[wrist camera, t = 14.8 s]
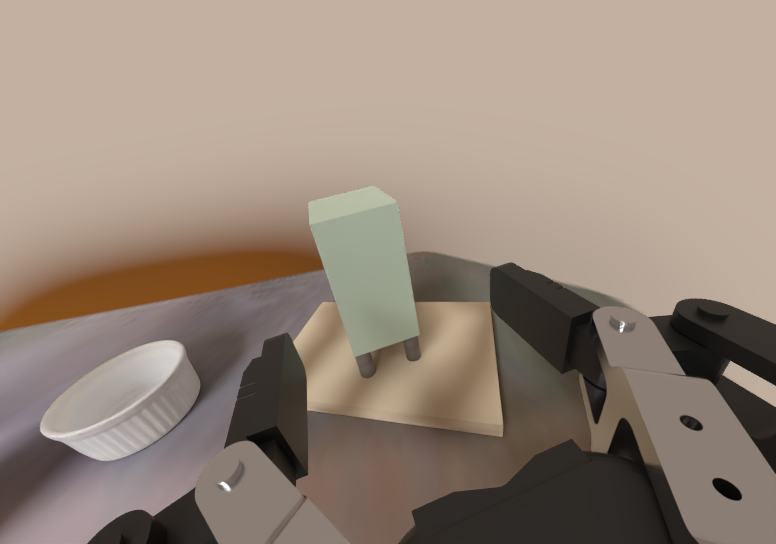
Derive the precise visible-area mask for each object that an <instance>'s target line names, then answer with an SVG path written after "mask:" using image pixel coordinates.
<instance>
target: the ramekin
mask: <svg viewBox="0 0 776 544" xmlns="http://www.w3.org/2000/svg"><path fill="white" fill-rule="evenodd" d="M199 391H200V380H199V377H198V375H197V374H196V372H195V370H194V369H193V367H192V365H191V363H190V361H189V360H188V358H187V353H186V350H185V348H184V346H183V345H182V344H181V343H180V342H178V341H173V340H162V341H156V342H152V343H148V344H145V345H142V346H139V347H136V348H134V349H131V350H129V351H127V352H125V353H123V354H120V355H118V356H116V357H114V358H113V359H111V360H109V361H107V362H105V363H103V364H102V365H100V366H98V367H97V368H95V369H94V370H92V371H91V372H89V373H87V374H86V375H85V376H83V377H82V378H81V379H79V380H78V381H77V382H75V383H74V384H73V385H71V386H70V387H69V388H68V389H67V390H66V391H65V392H64V393H62V394H61V395H60V396H59V397H58V398H57V399H56V400H55V401H54V402H53V403H52V405H51V406H50V407H49V408H48V410H47V411H46V413H45V414H44V416H43V418H42V420H41V424H40V431H41V433H42V434H43V435H44V436H45V437H48V438H50V439H52V440H56V441H61V442H63V443H65V444H67V445H68V446H70V447H72V448H73V449H75V450H77V451H78V452H80V453H82V454H84V455H86V456H88V457H91V458H93V459H96V460H100V461H113V460H117V459H121V458H124V457H126V456H129V455H132V454H134V453H136V452H138V451H140V450H142V449H144V448H146V447H148V446H149V445H151V444H153V443H154V442H156V441H157V440H159V439H160V438H161V437H163V436H164V435H165V434H167V433H168V432H169V431H170V430H171V429H172V428H174V427H175V426H176V425H177V424H178V423H179V422H180V421H181V420H182V419H183V417H184V416H185V415H186V414H187V413H188V412H189V410H190V409H191V407H192V406H193V404H194V403H195V401H196V399H197V397H198V394H199Z"/></svg>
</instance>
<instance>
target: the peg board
mask: <svg viewBox="0 0 776 544" xmlns="http://www.w3.org/2000/svg"><path fill="white" fill-rule="evenodd" d="M414 303H415V309H416V315H417V321H418V327H419V333H420V335H418V336H415V337H412V338H409V339H406V340H404V341H401V342H398V343H395V344H392V345H389V346H386V347H383V348H380V349H377V350H374V351H371V352H369V353H366V354H363V355H360V356H357V357H354V354H353V351H352V348H351V346H350V343H349V340H348V337H347V334H346V331H345V328H344V325H343V322H342V319H341V316H340V313H339V310H338V307H337V304H336V302H322V303H321V305H320V306H319V307H318V309H317V310H316V312H315V313H314V314H313V316H312V317H311V318H310V320H309V321H308V322H307V324H306V325H305V327H304V328H303V329H302V331H301V332H300V333H299V335H298V336H297V337H296V339H295V340H294V342H293V343H294V345H295V348H296V350H297V352H298V354H299V356H300V358H301V360H302V362H303V365H304V368H305V372H306V377H307V410H309V411H317V412H324V413H331V414H338V415H346V416H353V417H360V418H368V419H375V420H382V421H389V422H397V423H404V424H411V425H419V426H426V427H433V428H440V429H448V430H455V431H462V432H469V433H477V434H484V435H491V436H499V437H503V419H502V410H501V401H500V392H499V382H498V373H497V364H496V355H495V346H494V336H493V327H492V318H491V309H490V302H414Z"/></svg>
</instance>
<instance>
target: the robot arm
mask: <svg viewBox="0 0 776 544" xmlns="http://www.w3.org/2000/svg"><path fill="white" fill-rule="evenodd" d="M490 302H491V306H492V308H493V310H494V312H495V313H496V314H497V315H498V316H499V317H500V318H501V319H502V320H503V321H504V322H505V323H506V324H508V325H509V326H510V327H511V328H512V329H513V330H514V331H515V332H516V333H517V334H519V335H520V336H521V337H522V338H523V339H524V340H525V341H526V342H527V343H528V344H529V345H531V346H532V347H533V348H534V349H535V350H536V351H537V352H538V353H539V354H540V355H542V356H543V357H544V358H545V359H546V360H547V361H548V362H549V363H550V364H551V365H553V366H554V367H555V368H556V369H557V370H558V371H559V372H560V373H561V374H563V373H565V372H568V371H570V370H573V369H576V370H578V371H579V372H580V375H579V383H580V387H581V392H582V396H583V400H584V405H585V409H586V413H587V418H588V422H589V426H590V431H591V452H587V451H582V450H581V449H580V448H579V447H578V446H577V445H576V443H575V442H574V441H573V440H572V439H571V440H568V441H566V442H564V443H562V444H560V445H557V446H555V447H553V448H551V449H548V450H546V451H544V452H542V453H540V454H537V455H535V456H534V457H533V458H532V459H531V460H530V461H529V462H528V463H527V464H526V465H525V466H524V467H523V468H522V469H521V470H520V471H519V472H518V473H517V474H516V475H515V476H514V477H513V478H512V479H511V480H510V481H509V482H508V483H507V484H505V485H504V486H502V487H497V488H487V489H478V490H468V491H459V492H453V493H451V494H448V495H446V496H444V497H442V498H439V499H437V500H435V501H433V502H431V503H428V504H426V505H424V506H422V507H419V508H417V509H415V510H413V511H412V515H413V518H414V521H415V526H414V527H413V528H412V529H411V530H410V531H409V532H407V533H406V535H405V536H404V537H403V538H402V540H401V541H400V542H399V543H398V544H776V407H774V406H773V405H771V404H769V403H768V402H766V401H764V400H763V399H761V398H759V397H758V396H756V395H754V394H753V393H751V392H749V391H748V390H746V389H744V388H743V387H741V386H739V385H738V384H736V383H734V382H733V381H731V380H730V379H728V378H726V377H725V376H723V375H722V374H723V372H724V371H725V369H726V367H727V366H728V364H729V362H730V361H732V362H734V363H736V364H738V365H739V366H741V367H743V368H745V369H747V370H748V371H750V372H752V373H754V374H756V375H757V376H759V377H761V378H763V379H765V380H767V381H768V382H770V383H772V384H774V385H775V386H776V325H775V324H773V323H770V322H768V321H765V320H763V319H761V318H759V317H756V316H753V315H751V314H749V313H747V312H744V311H742V310H740V309H737V308H734V307H732V306H730V305H727V304H724V303H721V302H717V301H712V300H706V299H685V300H682V301H679V302H678V303H677V305H676V307H675V309H674V312H673V314H672V315H667V316H655V317H647V316H645V315H643V314H642V313H640V312H637V311H635V310H632V309H628V308H624V307H616V306H609V307H602V308H600V307H598V306H596V305H595V304H593V303H591V302H589V301H588V300H586V299H584V298H582V297H580V296H579V295H577V294H575V293H573V292H572V291H570V290H568V289H566V288H563V286H561V285H559V284H558V283H556V282H553V281H552V280H551V279H549V278H547V277H545V276H544V275H541V274H539V273H535V272H532V271H528V270H524V269H522V268H521V267H519V266H517V265H516V264H514V263H507V264H503V265H500V266H497V267H494V268H492V269H491V271H490ZM237 399H238V400H237V401H236V404H235V408H234V412H233V416H232V420H231V423H230V427H229V431H228V435H227V439H226V443H225V447H224V449H223V450H222V451H221V452H219V453H218V454H217V455H216V456H215V457H214V458H213V459H212V460H211V461H210V462H209V464H208V465H207V466H206V467H205V469H204V470H203V472H202V474H201V476H200V477H199V480H198V482H197V485H196V487H195V488H194V489H192V490H191V491H190V492H188V493H187V494H185V495H184V496H182V497H181V498H180V499H178V500H177V501H175V502H174V503H172V504H171V505H169V506H168V507H166V508H165V509H164V510H162V511H161V512H159V513H158V514H156V515H155V516H151V515H150V514H149V513H147V512H146V511H143V510H134V511H130V512H127V513H125V514H123V515H121V516H119V517H118V518H116V519H115V520H113V521H112V522H110V523H109V524H108V525H106V526H105V527H104V528H103V529H102V530H100V531H99V532H98V533H97V534H96V535H95V536H94V537H93V538H92V539H91V540H90V541H89V542H88V543H87V544H350V542H349V541H348V540H347V539H346V538H345V537H344V536H343V535H342V534H341V533H340V532H339V531H338V530H337V528H336V527H335V526H334V525H333V524H332V523H331V522H330V521H329V520H328V519H327V518H326V517H325V516H324V514H323V513H322V512H321V511H320V510H319V509H318V508H317V507H316V506H315V505H314V504H313V503H312V502H311V501H310V500H309V499H308V498H307V497H306V496H303V495H302V494H301V493H300V492H299V491H298V490H297V489H296V480H297V479H299V478H302V477H304V476H306V475H308V430H307V377H306V372H305V368H304V365H303V362H302V360H301V358H300V356H299V354H298V352H297V350H296V348H295V345H294V343H293V341H292V339H291V337H290V335H289V334H288V333H285V334H282V335H279V336H276V337H273V338H270V339H266V340H265V341H264V345H263V350H262V355H261V357H258V358H255V359H253V360H252V361H251V363H250V364H249V365H248V367H247V368H246V370H245V371H244V373H243V377H242V381H241V384H240V389H239V392H238V396H237Z"/></svg>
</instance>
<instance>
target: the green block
mask: <svg viewBox="0 0 776 544" xmlns="http://www.w3.org/2000/svg"><path fill="white" fill-rule="evenodd" d="M308 206H309V223H310V227H311V230H312V233H313V236H314V239H315V242H316V245H317V248H318V251H319V254H320V257H321V260H322V263H323V266H324V269H325V272H326V275H327V278H328V281H329V284H330V286H331V289H332V292H333V295H334V298H335V301H336V304H337V307H338V310H339V313H340V316H341V319H342V322H343V325H344V328H345V331H346V334H347V337H348V340H349V343H350V346H351V348H352V351H353V354H354V357H357V356H360V355H363V354H366V353H369V352H371V351H374V350H377V349H380V348H383V347H386V346H389V345H392V344H395V343H398V342H401V341H404V340H406V339H409V338H412V337H415V336H418V335H420V333H419V327H418V321H417V315H416V309H415V303H414V297H413V291H412V285H411V279H410V273H409V267H408V261H407V255H406V249H405V243H404V237H403V231H402V225H401V220H400V215H399V207H398V202H397V201H396V200H394V199H393V198H391V197H390V196H388V195H387V194H385V193H384V192H382V191H381V190H380V189H378V188H377V187H375V186H371V187H367V188H363V189H359V190H355V191H351V192H347V193H342V194H339V195H334V196H331V197H326V198H323V199H318V200H314V201H310V202H308Z"/></svg>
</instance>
